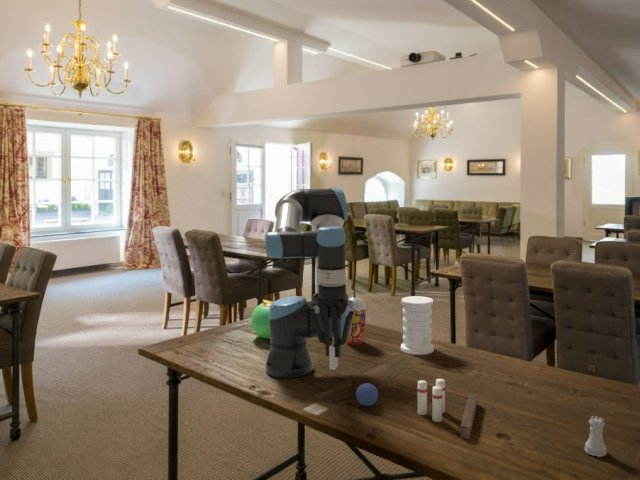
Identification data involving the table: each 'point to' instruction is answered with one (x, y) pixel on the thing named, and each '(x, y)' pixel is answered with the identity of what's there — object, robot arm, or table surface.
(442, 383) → the pin
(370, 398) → the ball
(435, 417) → the pin
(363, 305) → the smoothie
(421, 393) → the front pin
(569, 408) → the table surface
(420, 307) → the decorative container
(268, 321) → the toy bird
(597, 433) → the rook chess piece
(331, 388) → the table surface
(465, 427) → the back wall
